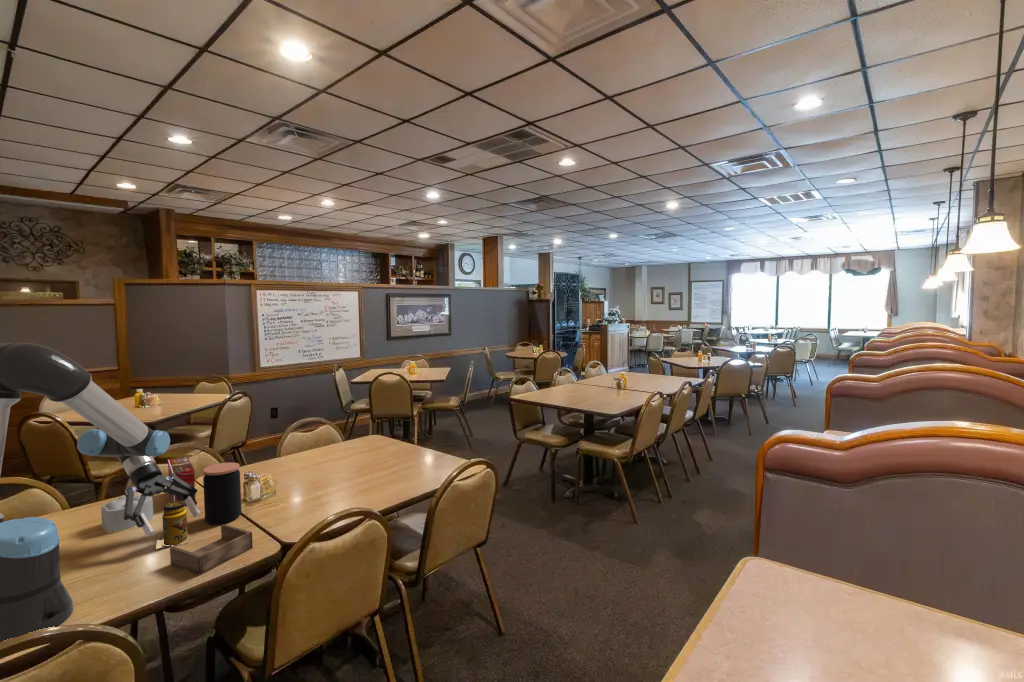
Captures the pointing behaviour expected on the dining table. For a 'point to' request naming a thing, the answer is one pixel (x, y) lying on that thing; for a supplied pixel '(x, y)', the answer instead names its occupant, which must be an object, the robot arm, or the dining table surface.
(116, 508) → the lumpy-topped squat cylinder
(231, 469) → the coffee jar
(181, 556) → the caddy
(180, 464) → the ice cream box
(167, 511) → the condiment
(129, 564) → the dining table surface
